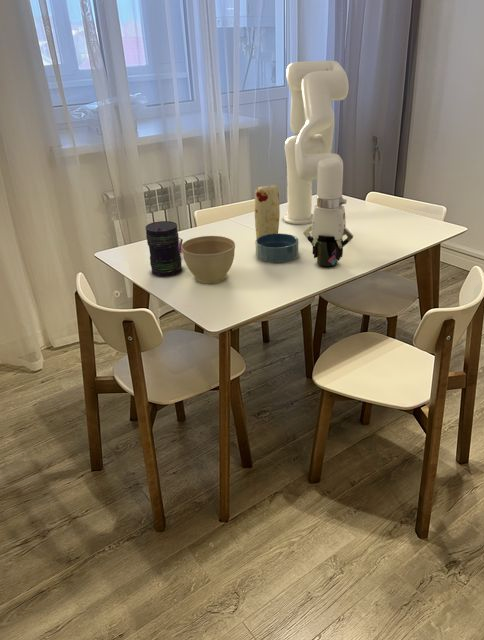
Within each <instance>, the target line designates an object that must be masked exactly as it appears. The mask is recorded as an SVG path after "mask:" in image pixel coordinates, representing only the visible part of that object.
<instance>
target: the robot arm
mask: <svg viewBox="0 0 484 640" xmlns="http://www.w3.org/2000/svg"><path fill="white" fill-rule="evenodd" d="M285 74H286V82H287V86H288V88H289V91H290V113H289V127H290V131H291V133H293V134H294V135H292V136H290V137H288V138H287V139H286V140H285V142H284V154H285V160H286V181H287V183H286V186H287V187H286V188H287V189H286V190H287V191H286V192H287V194H286V195H287V199H286V200H287V213H286V214H285V215H284V216H283V221H284V222H285V223H287V224H293V225H306V224H311V225H310V226H309V227H308V228H307V229H305V230H304V231H303V232H302V233H303V235H304V237H305V238H306V240H307V241H308V242H309V243H310V245H311V246H312V255H313V258H314V259H317V240H318V235H322V236H334V237H335V240H337V241H336V242H337V244H338V248H337V260H338V261H340V260H341V258H343V256H344V255H343V254H344V247H345V246H346V245H348V243H349V242H350V241H352V240H353V239H354V236H355V235H354V234H353V233H352V232H351V231H350V230H349V228H347V224H346V223H347V222H346V209H345V206H344V205H347V202H348V201H347V199H346V198H343V197H344V196H343V181H344V160H343V159H342V158H341V156H340V155H339V154H338V153H332V150H333V149H332V148H333V140H334V131H335V120H336V119H335V112H334V110H333V107H332V101H333V102H334V101H343V100H345V99H346V98H347V96H348V94H349V89H350V87H349V85H350V84H349V79H348V76H347V73H346V71H345V69H344V68H343V66H342V65H341V64H340V63H339V62H338V61H336V60H318V61H317V60H312V61H310V60H309V61H307V60H306V61H295V62H291V63H290V64H288V66H287V67H286V73H285ZM313 181H316V204H315V205H314V209H313V207H312V206H313V205H312V203H313V197H312V196H313ZM312 210H313V213H312ZM344 236H346V238H345V239H343V238H344Z"/></svg>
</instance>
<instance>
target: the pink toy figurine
mask: <svg viewBox="0 0 484 640" xmlns="http://www.w3.org/2000/svg"><path fill="white" fill-rule="evenodd" d="M178 239H179V243H178V245H179V253H180V254H181V253H183V251H182V248H181V246H182V244H183V238H182V237H179V236H178Z"/></svg>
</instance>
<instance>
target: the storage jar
mask: <svg viewBox="0 0 484 640" xmlns="http://www.w3.org/2000/svg"><path fill="white" fill-rule="evenodd" d="M145 236H146V237H145V238H146V241H147V242H146V243H147V246H148V250H149V265H150V268H151V274H152V275H153V276H154V277H157V278H170V277H176V276H178V275H180V274H181V273H182V272H183V267H182V263H183V261H182V258H181V257H182V256H181V253H179V245H178V243H179V239H178V237H179V232H178V224H177V223H176V222H174V221H170V220H161V221H155V222H151V223H148V224H147V225H145Z"/></svg>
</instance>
